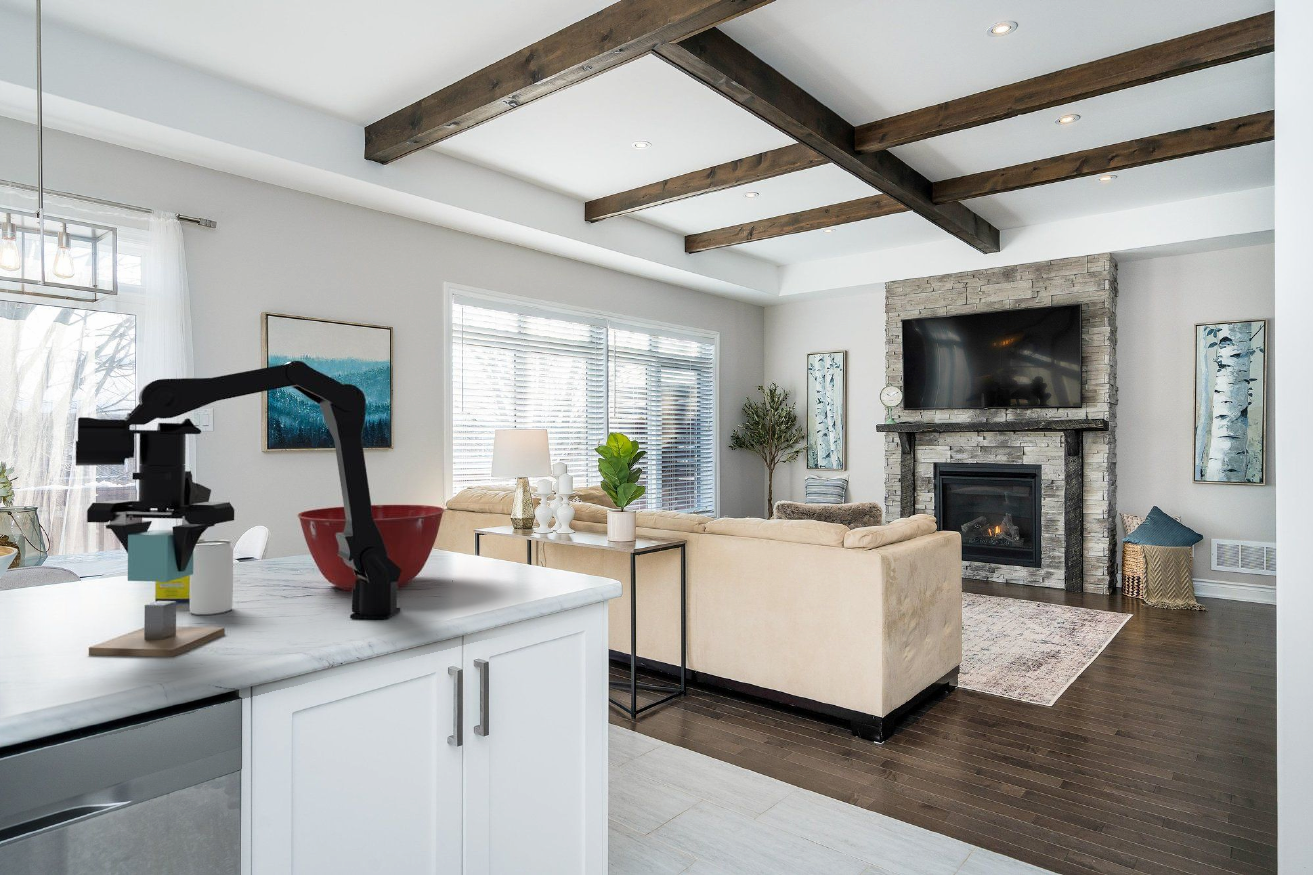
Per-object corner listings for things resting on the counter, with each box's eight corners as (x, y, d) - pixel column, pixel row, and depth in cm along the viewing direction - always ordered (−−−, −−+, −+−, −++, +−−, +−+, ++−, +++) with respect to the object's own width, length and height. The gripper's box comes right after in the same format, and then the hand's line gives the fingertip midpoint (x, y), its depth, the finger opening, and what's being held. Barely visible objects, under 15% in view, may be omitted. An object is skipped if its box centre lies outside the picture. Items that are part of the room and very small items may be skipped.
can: (213, 616, 128) (213, 545, 128) (180, 614, 129) (181, 544, 129) (241, 608, 134) (242, 540, 134) (209, 605, 135) (210, 539, 135)
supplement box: (171, 596, 143) (172, 538, 143) (205, 596, 143) (205, 538, 143) (153, 603, 137) (154, 543, 137) (188, 603, 137) (189, 543, 137)
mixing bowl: (290, 604, 138) (291, 519, 138) (302, 576, 164) (302, 504, 164) (450, 594, 148) (451, 515, 148) (437, 569, 174) (438, 502, 174)
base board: (224, 634, 117) (224, 627, 117) (172, 656, 105) (172, 649, 105) (149, 632, 118) (149, 625, 118) (88, 654, 106) (88, 647, 106)
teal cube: (193, 574, 114) (193, 530, 114) (167, 581, 108) (167, 535, 108) (155, 573, 114) (156, 529, 114) (127, 580, 109) (128, 534, 109)
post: (175, 634, 113) (176, 601, 113) (163, 639, 110) (163, 605, 110) (157, 634, 113) (158, 600, 113) (144, 639, 110) (144, 605, 110)
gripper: (255, 463, 119) (254, 562, 119) (139, 461, 120) (138, 560, 120) (211, 466, 108) (210, 576, 108) (84, 464, 109) (83, 573, 109)
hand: (161, 570), depth 111 cm, fingers closed on teal cube, 6 cm apart
